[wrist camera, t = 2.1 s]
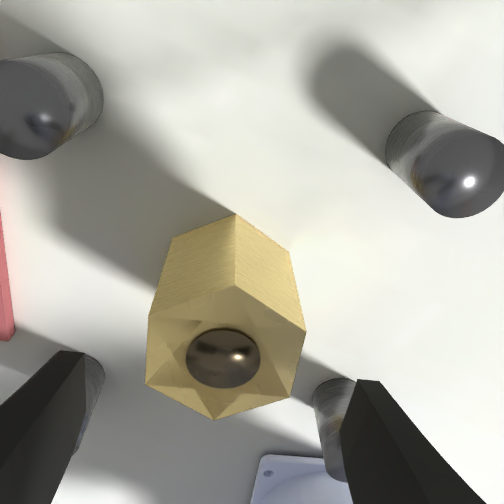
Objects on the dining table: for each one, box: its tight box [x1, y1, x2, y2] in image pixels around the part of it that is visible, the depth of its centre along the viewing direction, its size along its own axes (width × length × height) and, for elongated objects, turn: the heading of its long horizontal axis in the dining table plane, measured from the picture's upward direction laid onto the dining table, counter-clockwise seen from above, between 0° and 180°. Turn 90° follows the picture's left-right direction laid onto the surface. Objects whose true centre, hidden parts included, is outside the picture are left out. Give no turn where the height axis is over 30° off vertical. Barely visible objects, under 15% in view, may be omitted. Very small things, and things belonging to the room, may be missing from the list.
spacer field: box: [0, 53, 504, 483], centre depth 16 cm, size 14×14×4 cm
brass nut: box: [145, 214, 306, 420], centre depth 15 cm, size 5×4×5 cm
